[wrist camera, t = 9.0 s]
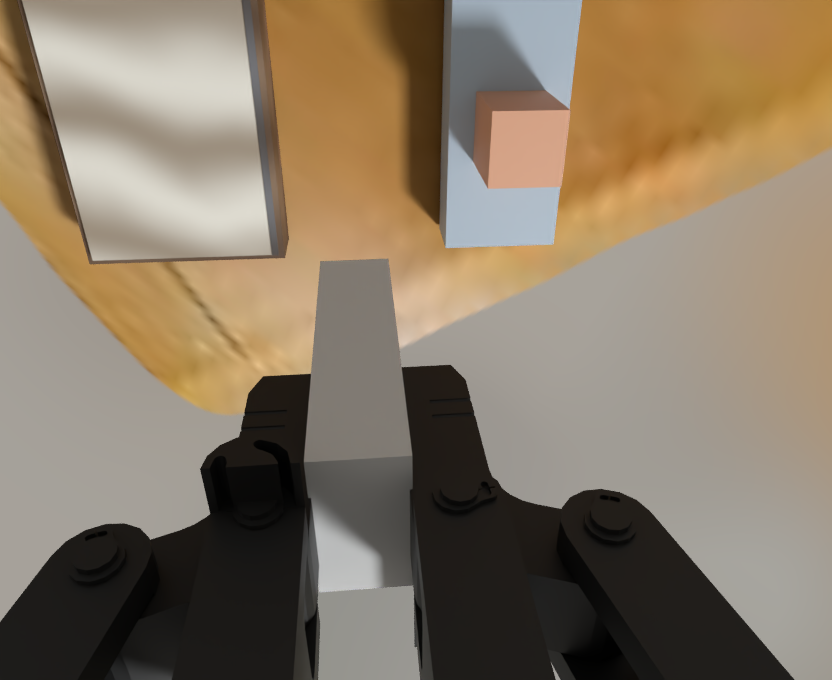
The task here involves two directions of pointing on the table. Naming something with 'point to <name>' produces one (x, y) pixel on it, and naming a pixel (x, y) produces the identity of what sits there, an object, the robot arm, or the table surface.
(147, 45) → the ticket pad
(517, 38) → the blue base with cube
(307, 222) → the table surface
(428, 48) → the table surface
